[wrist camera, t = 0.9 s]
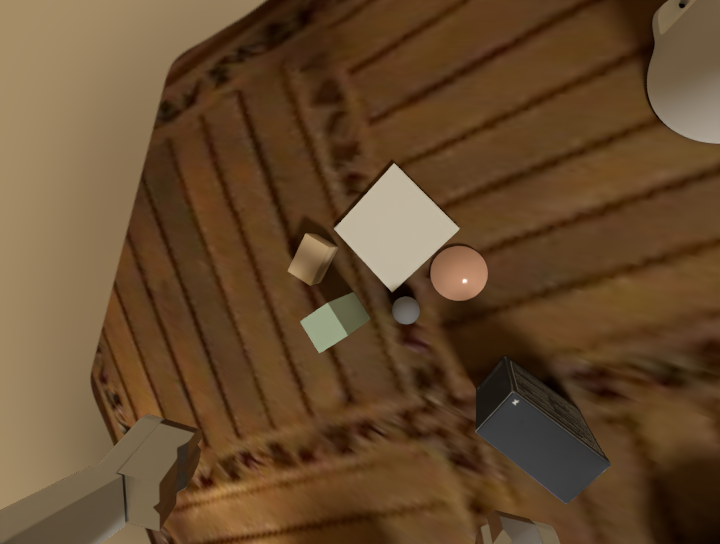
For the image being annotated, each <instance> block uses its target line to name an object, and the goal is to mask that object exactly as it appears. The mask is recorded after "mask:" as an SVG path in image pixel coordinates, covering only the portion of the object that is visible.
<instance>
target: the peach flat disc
mask: <svg viewBox="0 0 720 544" xmlns="http://www.w3.org/2000/svg"><path fill="white" fill-rule="evenodd" d="M430 275H431V281H432V283H433V286H434V287H435V289H436V290H437V291H438V292H439V293H440V294H441V295H442V296H444V297H446V298H448V299H451V300H455V301H463V300H468V299H470V298H473V297H474V296H476V295H477V294H479V293H480V292H481V290H482V289H483V288H484V286H485V284H486V281H487V276H488V271H487V266H486V263H485V261H484V259H483V258H482V257H481V255H480V254H479V253H478V252H476V251H475V250H473V249H471V248H468V247H465V246H453V247H450V248H447V249H445V250H443V251H442V252H440V253H439V254H438V255H437V256H436V258H435V259H434V261H433V263H432V266H431V272H430Z"/></svg>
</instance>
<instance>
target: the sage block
mask: <svg viewBox="0 0 720 544" xmlns="http://www.w3.org/2000/svg"><path fill="white" fill-rule="evenodd" d="M370 319H371V318H370V317H369V315H368V314H367V312H366V311H365V309H364V307H363V306H362V304H361V303H360V301H359V300H358V298H357V296H356V295H355V293H354V292H352V293H350V294H347V295H345V296H343V297H340V298H338V299H335V300H333V301H331V302H328V303H327V304H325V305H324V306H322V307H321V308H319V309H318V310H316V311H315V312H313V313H312V314H310V315H309V316H308V317H306V318H305V319H303V320H302V321H300V322H301V324H302V326H303V327H304V329H305V331H306V332H307V334H308V336H309V337H310V339H311V340H312V342H313V344H314V345H315V347H316V349H317V350H318V352H319V353H321V352H322V351H324V350H326V349H327V348H329V347H330V346H332V345H334V344H335V343H337V342H338V341H340V340H341V339H343V338H345V337H346V336H348V335H349V334H351V333H352V332H353V331H355V330H356V329H357V328H359V327H360V326H361V325H363V324H364V323H366V322H367V321H368V320H370Z"/></svg>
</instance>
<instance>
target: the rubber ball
mask: <svg viewBox="0 0 720 544" xmlns="http://www.w3.org/2000/svg"><path fill="white" fill-rule="evenodd" d="M419 313H420V308H419V305H418V303H417V302H416V301H415V300H414V299H413V298H411V297H401V298H399V299H397V300H396V301H395V302H394V304H393V307H392V314H393V316H394V318H395V319H396V320H397V321H398V322H399V323H402V324H411V323H413V322H414V321H416V320H417V318H418V316H419Z"/></svg>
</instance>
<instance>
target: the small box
mask: <svg viewBox="0 0 720 544" xmlns="http://www.w3.org/2000/svg"><path fill="white" fill-rule="evenodd" d="M476 433H477V434H479V435H480V436H481V437H482V438H484V439H485V440H486V441H487V442H489V443H490V444H491V445H492V446H494V447H495V448H496V449H497V450H499V451H500V452H501V453H502V454H504V455H505V456H506V457H508V458H509V459H510V460H511V461H513V462H514V463H515V464H516V465H518V466H519V467H520V468H521V469H523V470H524V471H525V472H526V473H528V474H529V475H530V476H531V477H533V478H534V479H535V480H536V481H538V482H539V483H540V484H541V485H542V486H544V487H545V488H546V489H547V490H549V491H550V492H551V493H552V494H554V495H555V496H556V497H557V498H559V499H560V500H561V501H562V502H564V503H565V504H567V503H568V502H570V501H571V500H572V499H574V498H575V497H576V496H577V495H578V494H579V493H580V492H582V491H583V490H584V489H585V488H586V487H587V486H588V485H589V484H590V483H592V482H593V481H594V480H595V479H596V478H597V477H598V476H599V475H601V474H602V473H603V472H604V471H605V470H606V469H607V468H608V467H609V466H610V465H611V463H610V462H609V460H608V459H607V457H606V456H605V454H604V453H603V451H602V450H601V448H600V446H599V445H598V443H597V441H596V439H595V438H594V436H593V434H592V432H591V431H590V429H589V427H588V425H587V423H586V422H585V420H584V418H583V416H582V414H581V412H580V410H579V409H578V408H576V407H575V406H574V405H572V404H571V403H570V402H568V401H567V400H566V399H564V398H563V397H562V396H560V395H559V394H557V393H556V392H555V391H553V390H552V389H551V388H549V387H548V386H547V385H545V384H544V383H543V382H541V381H540V380H538V379H537V378H536V377H535V376H533V375H532V374H530V373H529V372H528V371H526V370H525V369H524V368H522V367H521V366H519V365H518V364H517V363H515V362H514V361H512V360H511V359H510V358H508V357H507V356H504V357H503V358H501V360H500V362H499V363H498V364H497V365H496V366H495V368H494V369H493V370H492V371H491V372H490V373H489V374H488V375H487V377H486V378H485V379H483V381H482V382H481V383H480V384H479V386H478V387H477V388H476Z"/></svg>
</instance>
